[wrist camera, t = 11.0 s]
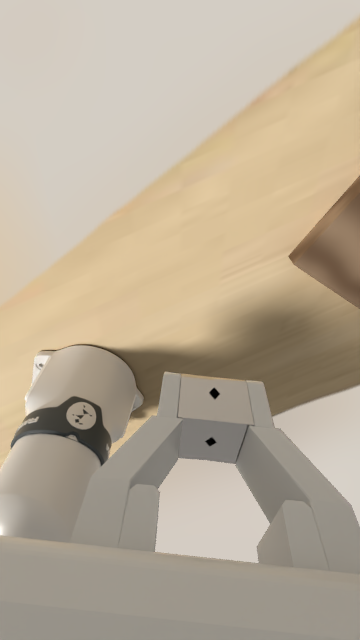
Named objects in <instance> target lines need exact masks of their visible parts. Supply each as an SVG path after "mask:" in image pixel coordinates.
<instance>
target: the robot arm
mask: <svg viewBox="0 0 360 640" xmlns="http://www.w3.org/2000/svg"><path fill="white" fill-rule="evenodd" d="M25 400H26V404H25V410H26V418H25V419H24V421H23V423H22V424H21V425H20V426H19V428H18V429H17V431H16V433H15V436H14V439H13V440H12V443H11V451H10V452H9V454H8V456H7V458H6V459H5V461H4V463H3V464H2V466H1V468H0V640H360V527H359V524H358V521H357V519H356V516H355V514H354V511H353V509H352V506H351V504H350V503H349V502H348V501H347V500H346V499H345V498H344V497H343V496H342V495H341V494H340V493H339V492H338V490H337V489H336V488H335V487H334V486H333V485H332V484H331V483H330V482H329V481H328V480H327V479H326V478H325V477H324V476H323V475H322V473H321V472H320V471H319V470H318V469H317V468H316V467H315V466H314V465H313V464H312V463H311V461H310V460H309V459H308V458H307V457H306V456H305V455H304V454H303V453H302V452H301V451H300V450H299V449H298V448H297V446H296V445H295V444H294V443H293V442H292V441H291V440H290V439H289V438H288V437H287V436H286V435H285V434H284V432H283V431H282V430H281V429H278V428H275V427H274V423H273V419H272V415H271V411H270V406H269V402H268V398H267V394H266V390H265V386H264V383H263V382H262V381H251V380H240V379H229V378H218V377H207V376H199V375H191V374H183V373H181V374H180V373H173V372H164V375H163V381H162V388H161V394H160V401H159V407H158V413H157V416H153V415H152V416H151V417H150V418H149V419H148V420H147V421H146V422H145V423H144V424H143V425H142V426H141V427H140V428H139V429H138V430H137V431H136V432H135V433H134V434H133V435H132V436H131V437H130V438H129V439H128V440H127V441H126V442H125V443H124V444H123V445H122V446H121V447H120V448H119V449H118V450H117V451H116V452H115V453H114V454H113V455H112V456H111V457H110V458H109V454H110V448H111V444H112V443H114V442H116V441H118V440H119V439H120V438H122V437H123V436H124V434H125V431H126V427H127V424H128V421H129V418H130V415H131V412H133V411H134V410H135V409H137V408H138V407H139V406H141V405H142V403H143V400H144V397H143V395H142V394H141V392H140V391H139V390H138V389H137V387H136V382H135V378H134V375H133V373H132V371H131V369H130V368H129V367H128V365H127V364H126V363H125V362H124V361H123V360H121V359H120V358H119V357H117V356H116V355H114V354H112V353H110V352H108V351H106V350H103V349H101V348H97V347H93V346H84V345H78V346H71V347H67V348H64V349H61V350H58V351H40V352H38V353H37V354H36V356H35V358H34V367H33V377H32V386H31V387H30V389H29V391H28V392H27V394H26V396H25ZM108 458H109V459H108ZM178 458H186V459H199V460H210V461H217V462H225V463H233V464H236V467H237V469H238V471H239V472H240V474H241V476H242V477H243V479H244V481H245V482H246V484H247V486H248V487H249V489H250V491H251V492H252V494H253V496H254V497H255V499H256V501H257V502H258V504H259V505H260V507H261V509H262V511H263V512H264V514H265V515H266V517H267V519H268V521H269V522H270V526H269V527H268V529H267V531H266V532H265V534H264V536H263V537H262V539H261V541H260V542H259V544H258V546H257V552H258V561H259V563H251V562H242V561H233V560H223V559H215V558H205V557H195V556H187V555H178V554H168V553H159V552H155V544H156V533H157V521H158V508H159V496H160V492H159V491H158V488H159V486H160V485H161V484H162V482H163V480H164V479H165V478H166V476H167V475H168V473H169V472H170V470H171V469H172V468H173V466H174V465H175V463H176V462H177V460H178Z"/></svg>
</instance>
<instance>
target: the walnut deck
mask: <svg viewBox="0 0 360 640" xmlns="http://www.w3.org/2000/svg"><path fill="white" fill-rule="evenodd" d="M289 258H290V259H291V261H292V262H293V264H294V265H295V266H297V267H298V268H300V269H301V270H303V271H304V272H306V273H307V274H309V275H310V276H311V277H313V278H314V279H316V280H317V281H319V282H320V283H322V284H323V285H325V286H326V287H328V288H329V289H331V290H332V291H334V292H335V293H337V294H338V295H340V296H341V297H343V298H344V299H346V300H347V301H349V302H350V303H352V304H353V305H355V306H356V307H358V308H359V309H360V176H359V177H358V178H357V179H356V181H355V182H354V183H353V184H352V185H351V186H350V187H349V188H348V190H347V191H346V192H345V193H344V194H343V195H342V196H341V197H340V199H339V200H338V201H337V202H336V203H335V204H334V205H333V206H332V208H331V209H330V210H329V211H328V212H327V213H326V214H325V216H324V217H323V218H322V219H321V220H320V221H319V222H318V223H317V225H316V226H315V227H314V228H313V229H312V230H311V231H310V232H309V234H308V235H307V236H306V237H305V238H304V239H303V240H302V241H301V243H300V244H299V245H298V246H297V247H296V248H295V249H294V250H293V252H292V253H291V254H290V255H289Z"/></svg>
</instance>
